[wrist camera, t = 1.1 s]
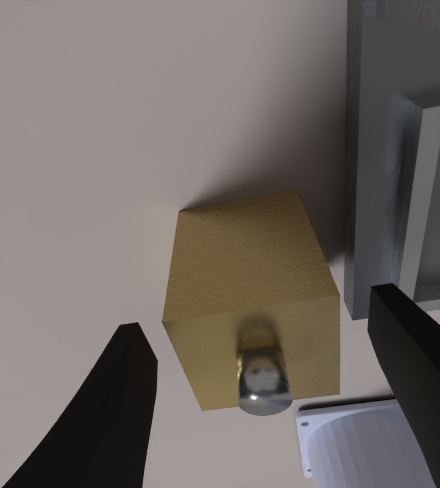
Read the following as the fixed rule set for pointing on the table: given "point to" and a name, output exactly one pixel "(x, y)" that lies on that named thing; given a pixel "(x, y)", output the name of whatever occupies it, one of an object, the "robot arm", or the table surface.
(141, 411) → the robot arm
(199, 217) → the housing
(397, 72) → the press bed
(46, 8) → the table surface
